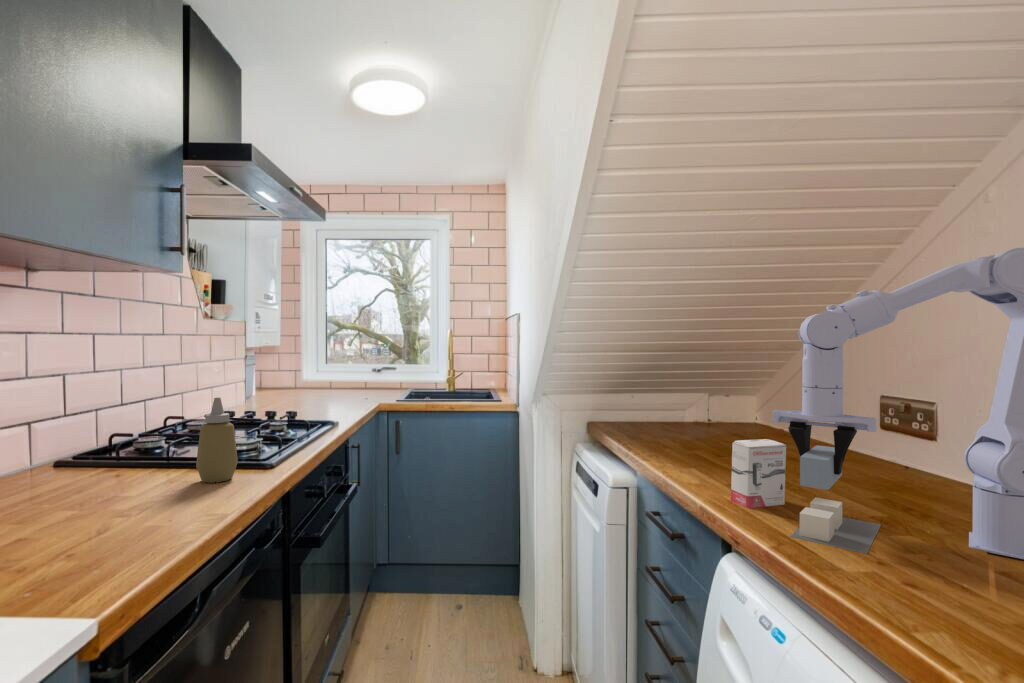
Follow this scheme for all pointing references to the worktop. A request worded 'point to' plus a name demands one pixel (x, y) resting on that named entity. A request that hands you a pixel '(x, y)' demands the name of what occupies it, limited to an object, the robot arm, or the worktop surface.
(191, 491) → the worktop surface
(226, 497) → the worktop surface
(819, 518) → the post
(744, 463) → the ink box
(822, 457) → the lintel
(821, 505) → the post
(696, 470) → the worktop surface
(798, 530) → the mat
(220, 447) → the squeeze bottle
